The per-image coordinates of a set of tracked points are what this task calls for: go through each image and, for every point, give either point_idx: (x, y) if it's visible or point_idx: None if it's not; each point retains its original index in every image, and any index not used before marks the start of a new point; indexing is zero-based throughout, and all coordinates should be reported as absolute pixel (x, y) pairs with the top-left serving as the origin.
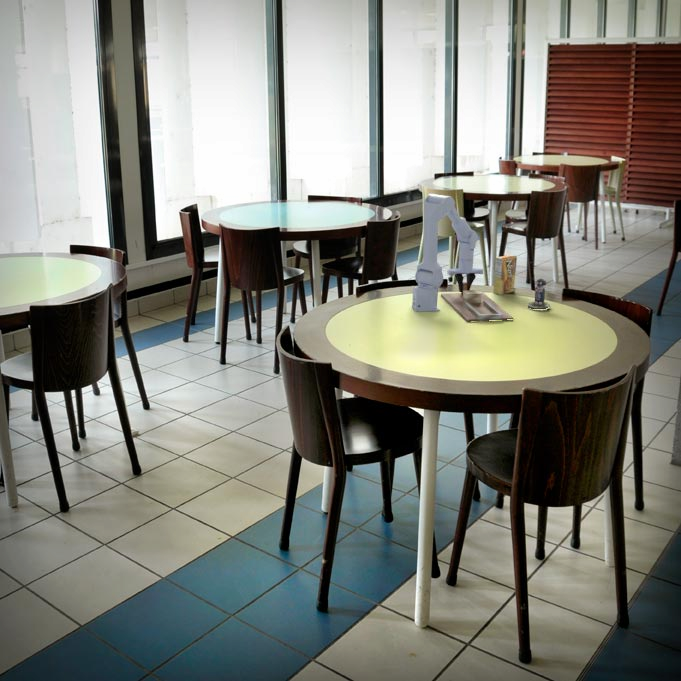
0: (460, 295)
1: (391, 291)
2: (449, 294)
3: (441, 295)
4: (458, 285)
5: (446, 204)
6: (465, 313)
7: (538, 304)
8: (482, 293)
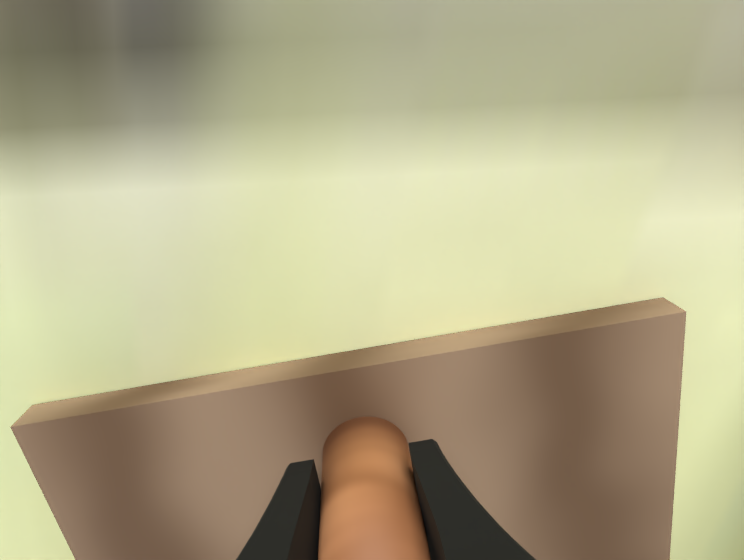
0: None
1: None
2: (148, 449)
3: (33, 444)
4: (258, 537)
5: None
6: None
7: None
8: (656, 363)
